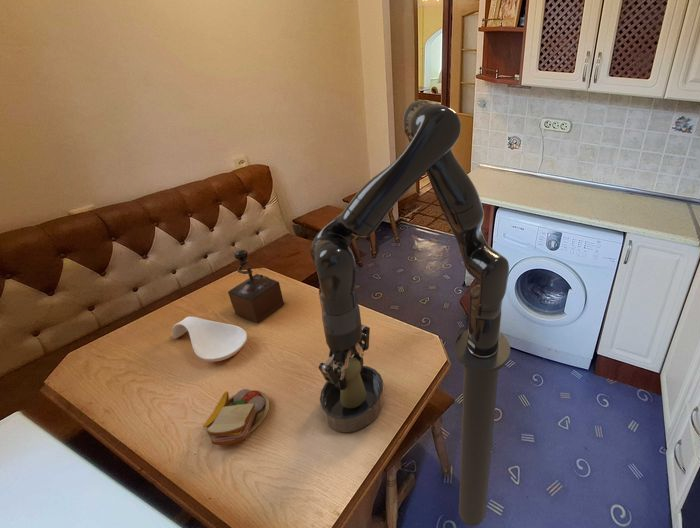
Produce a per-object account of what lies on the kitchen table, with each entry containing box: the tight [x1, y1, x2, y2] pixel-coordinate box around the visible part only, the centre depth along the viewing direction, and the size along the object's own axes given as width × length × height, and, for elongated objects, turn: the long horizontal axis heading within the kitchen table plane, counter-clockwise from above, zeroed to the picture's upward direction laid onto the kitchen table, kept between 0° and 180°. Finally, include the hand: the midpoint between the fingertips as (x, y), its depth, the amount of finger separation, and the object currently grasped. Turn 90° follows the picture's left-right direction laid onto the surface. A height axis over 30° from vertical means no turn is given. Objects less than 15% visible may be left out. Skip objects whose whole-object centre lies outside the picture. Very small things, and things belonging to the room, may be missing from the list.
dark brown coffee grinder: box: [227, 249, 285, 325], centre depth 112 cm, size 16×11×18 cm
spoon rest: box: [171, 316, 248, 363], centre depth 99 cm, size 24×12×7 cm, turn 70°
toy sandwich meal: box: [202, 388, 270, 446], centre depth 81 cm, size 12×14×5 cm
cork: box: [338, 356, 366, 408], centre depth 83 cm, size 6×6×11 cm
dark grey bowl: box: [319, 365, 385, 433], centre depth 85 cm, size 14×14×5 cm
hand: (350, 377), depth 82 cm, fingers closed on cork, 5 cm apart
